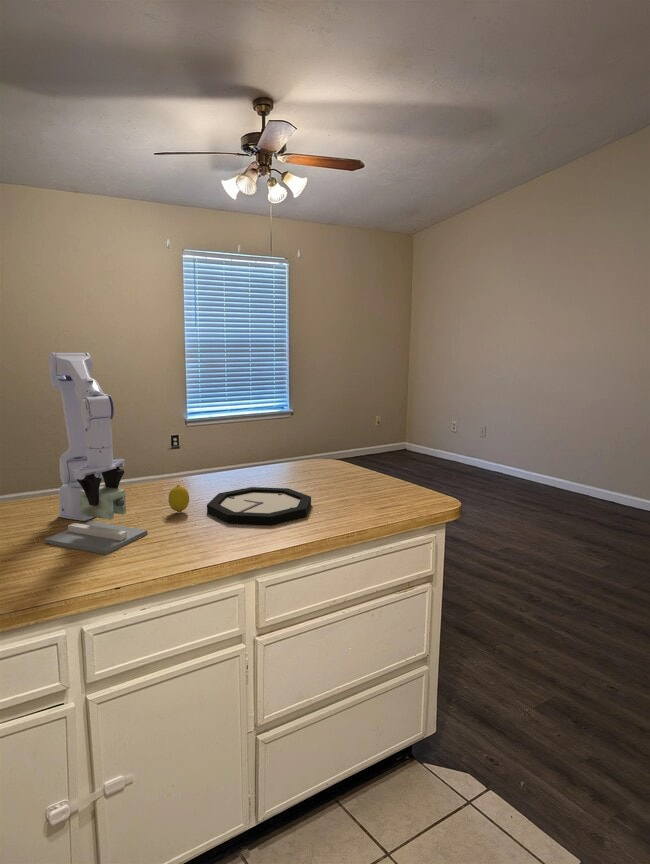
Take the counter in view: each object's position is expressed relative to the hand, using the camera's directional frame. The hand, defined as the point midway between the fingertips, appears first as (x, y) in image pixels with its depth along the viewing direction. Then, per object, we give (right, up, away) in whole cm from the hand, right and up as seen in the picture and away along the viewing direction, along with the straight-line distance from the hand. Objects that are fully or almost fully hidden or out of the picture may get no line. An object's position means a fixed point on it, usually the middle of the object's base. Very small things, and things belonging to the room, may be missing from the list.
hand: (102, 501), depth 128 cm
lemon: (+13, -6, +19) cm, 24 cm away
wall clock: (+35, -6, +24) cm, 43 cm away
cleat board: (-1, -9, -1) cm, 9 cm away
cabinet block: (0, -3, +1) cm, 3 cm away
